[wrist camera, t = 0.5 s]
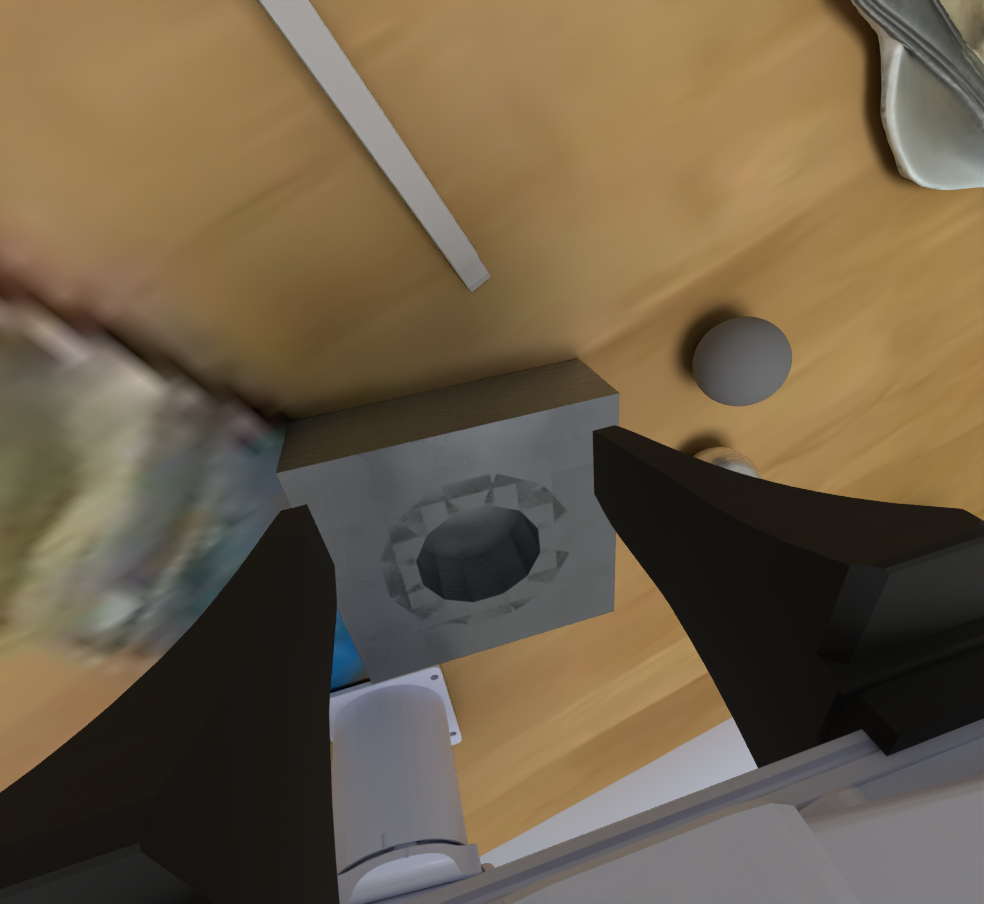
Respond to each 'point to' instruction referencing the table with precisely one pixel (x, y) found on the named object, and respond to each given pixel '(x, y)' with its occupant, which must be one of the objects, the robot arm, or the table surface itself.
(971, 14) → the salad plate
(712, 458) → the steel ball
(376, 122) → the caliper
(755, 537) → the robot arm
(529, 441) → the bearing housing
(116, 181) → the table surface
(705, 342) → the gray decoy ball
